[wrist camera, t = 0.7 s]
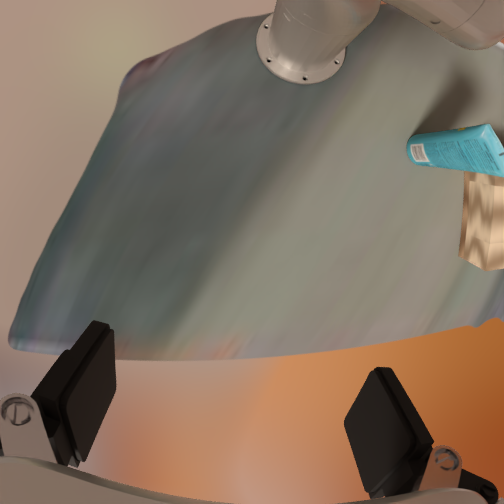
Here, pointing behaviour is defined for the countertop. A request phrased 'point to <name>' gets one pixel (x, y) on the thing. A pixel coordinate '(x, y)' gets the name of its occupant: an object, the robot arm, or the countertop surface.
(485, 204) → the socket block
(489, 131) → the tube
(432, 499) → the robot arm
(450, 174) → the countertop surface
